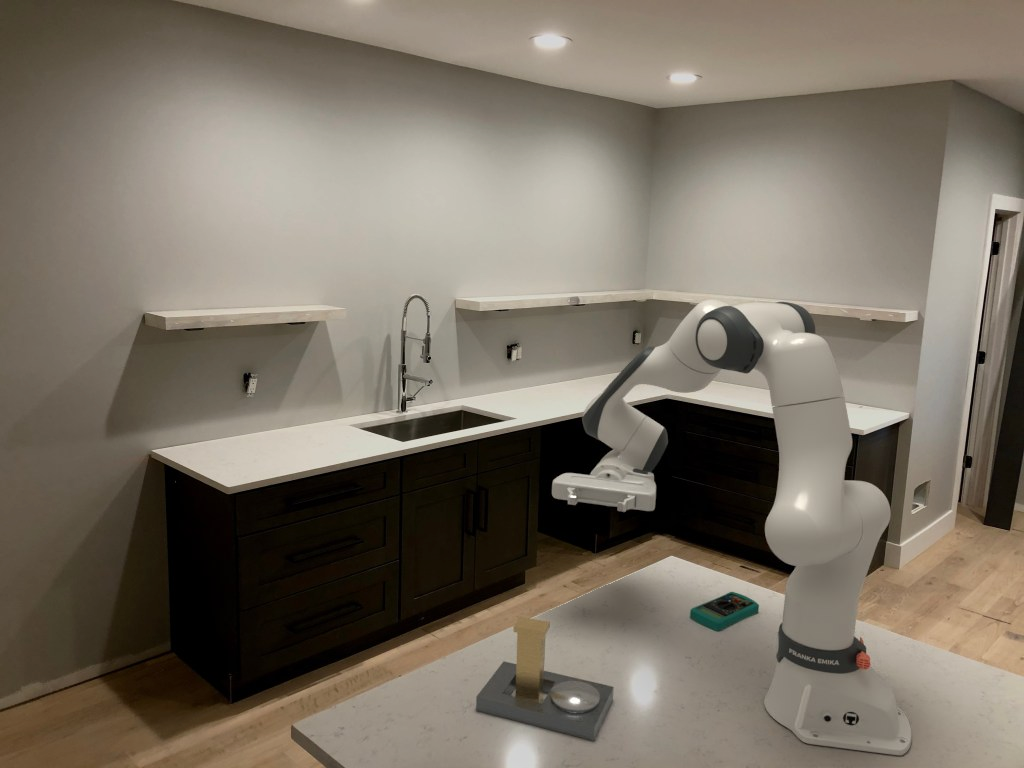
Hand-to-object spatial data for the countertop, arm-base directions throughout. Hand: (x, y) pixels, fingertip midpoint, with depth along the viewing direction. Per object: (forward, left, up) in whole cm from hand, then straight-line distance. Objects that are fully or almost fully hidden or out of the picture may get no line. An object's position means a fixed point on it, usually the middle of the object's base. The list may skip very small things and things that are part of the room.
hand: (596, 504), depth 148 cm
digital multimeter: (-23, -23, -29) cm, 43 cm away
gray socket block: (+1, +23, -28) cm, 36 cm away
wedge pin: (+4, +23, -28) cm, 36 cm away
